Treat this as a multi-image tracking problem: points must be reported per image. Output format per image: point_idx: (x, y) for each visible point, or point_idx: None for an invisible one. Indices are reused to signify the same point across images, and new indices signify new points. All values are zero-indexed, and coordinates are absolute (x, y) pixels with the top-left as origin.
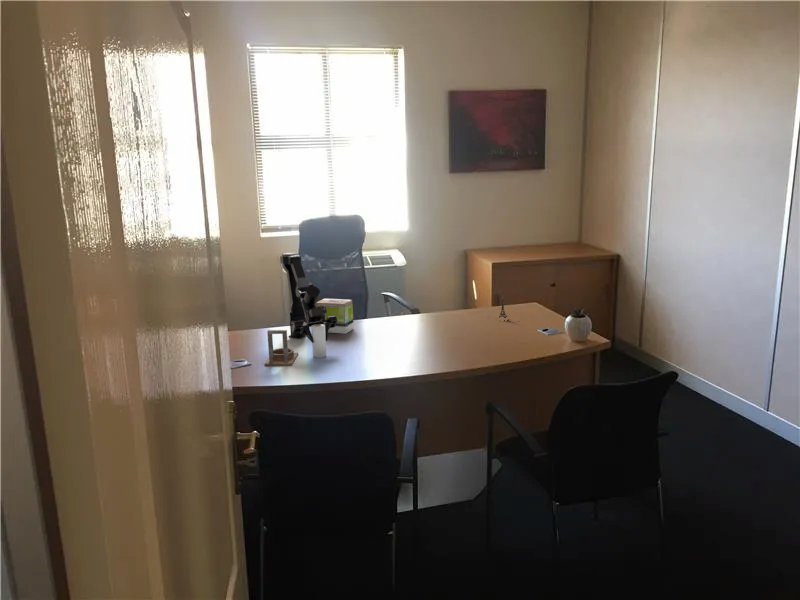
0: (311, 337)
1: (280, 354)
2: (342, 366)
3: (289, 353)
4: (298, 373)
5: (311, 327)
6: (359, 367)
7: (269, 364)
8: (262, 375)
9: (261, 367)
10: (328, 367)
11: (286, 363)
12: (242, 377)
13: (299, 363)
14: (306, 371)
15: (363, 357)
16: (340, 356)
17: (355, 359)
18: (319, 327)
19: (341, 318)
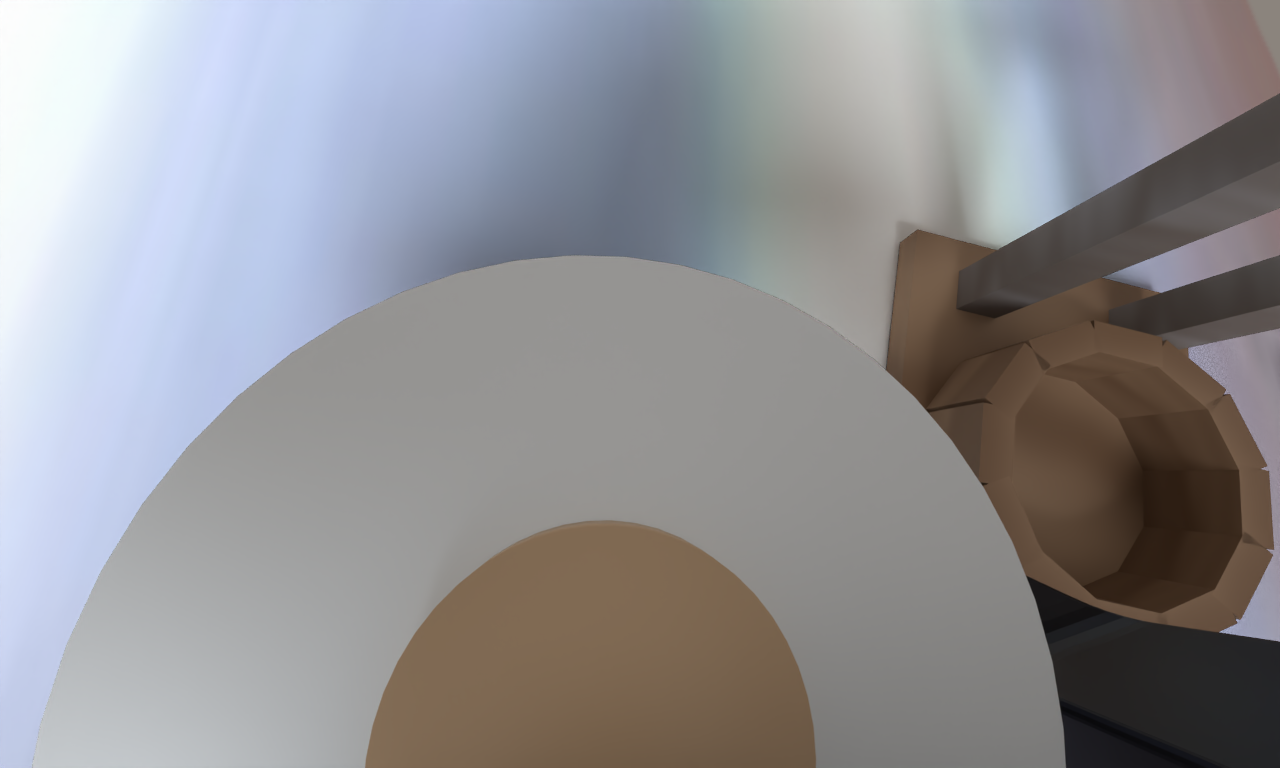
0: None
1: (1119, 343)
2: (385, 82)
3: (1014, 356)
4: (822, 31)
5: (993, 671)
6: (212, 4)
7: (1127, 289)
8: (1113, 77)
9: (1172, 277)
10: (535, 96)
11: (969, 243)
12: (1254, 81)
13: (827, 295)
14: (752, 56)
15: (41, 306)
16: None
17: (173, 259)
18: (546, 291)
19: None
